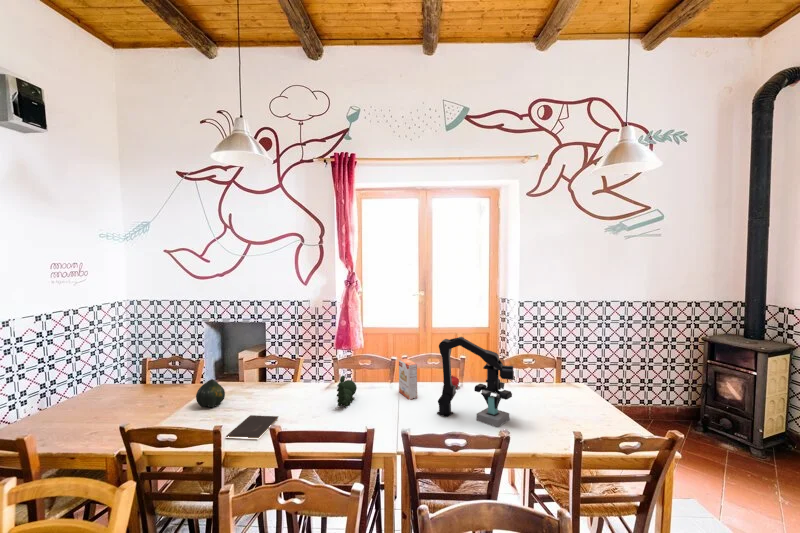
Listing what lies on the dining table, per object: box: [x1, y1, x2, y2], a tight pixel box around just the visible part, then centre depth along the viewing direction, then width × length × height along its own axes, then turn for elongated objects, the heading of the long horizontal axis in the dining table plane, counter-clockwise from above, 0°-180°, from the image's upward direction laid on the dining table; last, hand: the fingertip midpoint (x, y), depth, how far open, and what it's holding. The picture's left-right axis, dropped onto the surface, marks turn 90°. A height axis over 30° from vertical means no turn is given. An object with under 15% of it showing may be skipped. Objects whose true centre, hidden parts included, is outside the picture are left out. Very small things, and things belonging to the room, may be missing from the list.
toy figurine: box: [336, 375, 358, 407], centre depth 229 cm, size 9×19×25 cm
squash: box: [195, 378, 226, 408], centre depth 226 cm, size 14×15×15 cm
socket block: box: [475, 407, 510, 428], centre depth 204 cm, size 12×12×4 cm
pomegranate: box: [442, 374, 460, 389], centre depth 253 cm, size 10×10×9 cm
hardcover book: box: [225, 414, 280, 438], centre depth 196 cm, size 16×23×2 cm
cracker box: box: [398, 357, 418, 400], centre depth 239 cm, size 14×6×21 cm, turn 25°
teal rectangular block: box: [487, 395, 499, 415], centre depth 203 cm, size 4×4×8 cm
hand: (492, 407), depth 203 cm, fingers closed on teal rectangular block, 4 cm apart
